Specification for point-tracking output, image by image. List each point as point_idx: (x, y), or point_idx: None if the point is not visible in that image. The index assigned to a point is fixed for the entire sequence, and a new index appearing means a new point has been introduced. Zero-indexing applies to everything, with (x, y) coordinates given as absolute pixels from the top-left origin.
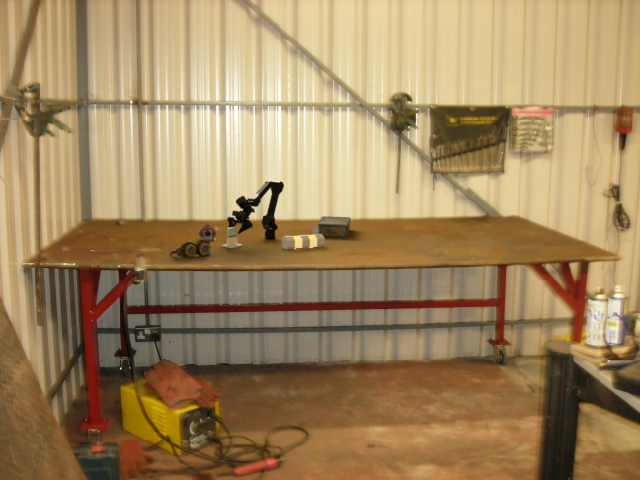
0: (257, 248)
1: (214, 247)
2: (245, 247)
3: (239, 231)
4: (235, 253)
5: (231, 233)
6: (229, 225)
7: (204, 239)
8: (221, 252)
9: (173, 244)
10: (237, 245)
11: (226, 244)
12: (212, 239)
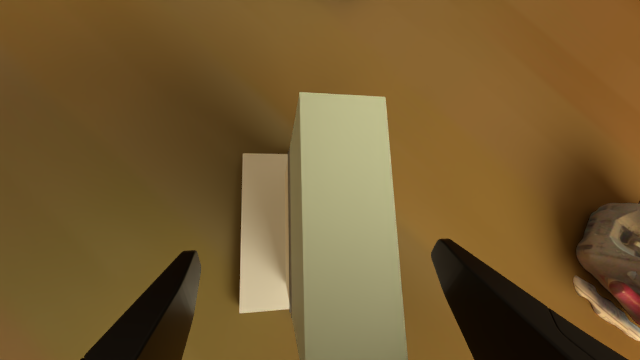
0: (9, 346)
1: None
2: None
3: (154, 285)
4: (54, 36)
5: (292, 183)
6: (569, 337)
7: (604, 205)
8: (188, 5)
9: (598, 18)
10: (241, 240)
11: None
12: (598, 278)
